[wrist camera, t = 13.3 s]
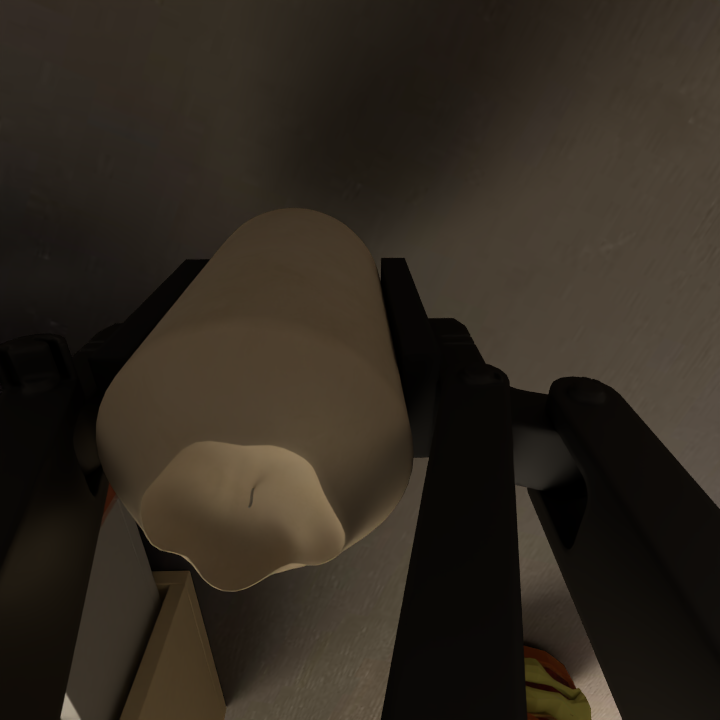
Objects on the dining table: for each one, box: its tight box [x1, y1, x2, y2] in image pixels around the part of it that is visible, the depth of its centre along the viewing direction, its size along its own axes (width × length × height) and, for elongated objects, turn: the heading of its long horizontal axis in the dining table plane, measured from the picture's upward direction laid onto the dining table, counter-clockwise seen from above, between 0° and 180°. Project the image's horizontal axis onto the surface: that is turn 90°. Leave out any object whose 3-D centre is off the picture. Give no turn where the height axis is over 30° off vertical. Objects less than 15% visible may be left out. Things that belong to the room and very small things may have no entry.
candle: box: [96, 208, 414, 592], centre depth 11 cm, size 6×6×10 cm
